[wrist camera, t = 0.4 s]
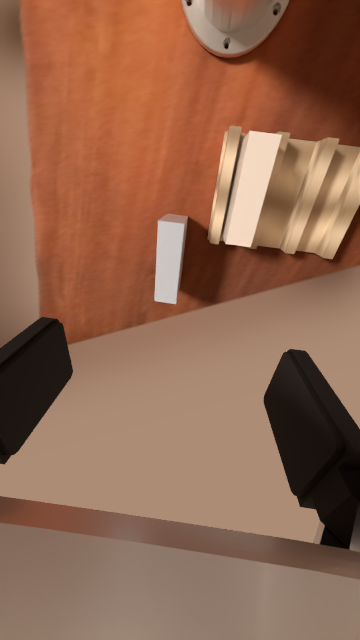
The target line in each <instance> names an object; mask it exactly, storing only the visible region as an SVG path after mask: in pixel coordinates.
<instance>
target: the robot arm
mask: <svg viewBox="0 0 360 640" xmlns="http://www.w3.org/2000/svg"><path fill="white" fill-rule="evenodd" d="M289 1H290V0H181V3H182V8H183V11H184V14H185V18H186V21H187V23H188V25H189V27H190V29H191V31H192V33H193V35H194V36H195V38H196V39H197V41H198V42H199V43H200V44H201V45H202V46H203V47H204V48H205V49H206V50H207V51H208V52H210V53H212V54H214V55H216V56H220V57H225V58H232V57H239V56H241V55H244V54H247V53H249V52H250V51H252V50H253V49H255V48H256V47H258V46H259V45H260V44H261V43H262V42H263V41H264V40H265V39H266V38H267V37H268V36H269V35H270V33H271V32H272V31H273V29H274V28H275V27H276V25H277V24H278V22H279V20H280V19H281V17H282V15H283V13H284V12H285V10H286V7H287V5H288V3H289ZM189 2H191V3H192V5H191V6H188V3H189ZM273 12H276V13H277V15H276V16H275V15H273ZM225 45H228V47H229V48H228V49H225V48H224V46H225ZM72 373H73V369H72V365H71V359H70V355H69V350H68V346H67V341H66V337H65V332H64V328H63V324H62V323H60V322H59V320H57V319H53V318H45V317H42V318H40V319H38V320H37V321H36V322H34V323H33V324H32V325H30V326H29V327H28V328H26V329H25V330H24V331H23V332H21V333H20V334H18V335H17V336H16V337H15V338H13V339H12V340H11V341H9V342H8V343H7V344H5V345H4V346H3V347H1V348H0V464H5V463H6V462H7V460H8V459H9V458H10V456H11V455H14V454H16V452H18V451H19V449H20V448H21V446H22V445H23V444H24V442H25V441H26V439H27V438H28V437H29V435H30V434H31V432H32V431H33V429H34V428H35V427H36V426H37V424H38V423H39V421H40V420H41V419H42V417H43V416H44V414H45V413H46V412H47V410H48V409H49V407H50V406H51V405H52V403H53V402H54V400H55V399H56V398H57V396H58V395H59V393H60V392H61V391H62V389H63V388H64V386H65V385H66V383H67V382H68V381H69V379H70V378H71V376H72ZM264 405H265V408H266V411H267V414H268V418H269V421H270V424H271V428H272V431H273V434H274V437H275V440H276V444H277V447H278V450H279V453H280V456H281V460H282V463H283V466H284V470H285V473H286V476H287V479H288V483H289V486H290V489H291V491H292V493H293V494H294V495H295V496H297V499H298V502H299V505H300V507H304V508H311V509H316V510H317V513H318V516H319V518H320V522H319V526H318V529H317V532H316V536H315V539H314V543H308V542H302V541H297V540H291V539H285V538H279V537H272V536H266V535H258V534H253V533H246V532H239V531H233V530H227V529H220V528H213V527H207V526H200V525H194V524H187V523H181V522H174V521H167V520H160V519H154V518H146V517H140V516H133V515H126V514H120V513H113V512H106V511H99V510H93V509H86V508H79V507H72V506H65V505H58V504H51V503H44V502H37V501H30V500H23V499H16V498H8V497H2V496H0V640H360V429H359V427H358V426H357V424H356V423H355V422H354V420H353V419H352V417H351V416H350V414H349V413H348V411H347V410H346V409H345V407H344V406H343V404H342V403H341V401H340V400H339V398H338V397H337V395H336V394H335V392H334V391H333V389H332V388H331V387H330V385H329V384H328V382H327V381H326V379H325V378H324V376H323V375H322V373H321V372H320V371H319V369H318V368H317V366H316V365H315V364H314V362H313V360H312V359H311V357H310V356H309V354H308V353H307V352H306V351H301V350H294V349H289V350H288V351H287V352H284V353H283V355H282V357H281V359H280V362H279V364H278V366H277V368H276V370H275V373H274V375H273V377H272V379H271V382H270V384H269V386H268V388H267V391H266V393H265V395H264Z"/></svg>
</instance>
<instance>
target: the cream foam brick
mask: <svg viewBox="0 0 360 640" xmlns="http://www.w3.org/2000/svg"><path fill="white" fill-rule="evenodd" d="M281 137H282V135H280V134H272V133H263V132H255V131H250V132H249V133H248V134H247V135H246V136H245V137H244V139H243V140H242V141H241V142H240V146H239V151H238V156H237V161H236V166H235V171H234V176H233V181H232V186H231V191H230V196H229V201H228V206H227V211H226V216H225V221H224V226H223V231H222V236H223V239H224V241H225V243H226V244H230V245H238V246H245V247H251V244H252V241H253V237H254V234H255V230H256V226H257V223H258V219H259V216H260V212H261V208H262V205H263V201H264V198H265V194H266V191H267V187H268V183H269V180H270V176H271V173H272V169H273V165H274V162H275V158H276V155H277V151H278V147H279V144H280V140H281Z"/></svg>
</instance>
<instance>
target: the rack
mask: <svg viewBox="0 0 360 640" xmlns="http://www.w3.org/2000/svg"><path fill="white" fill-rule="evenodd" d="M241 128H242V127H237V126H230V127H229V130H228V131H225V135H224V141H223V147H222V153H221V159H220V165H219V171H218V177H217V183H216V189H215V195H214V201H213V207H212V213H211V219H210V225H209V231H208V237H207V239H209V242H210V243H212V244H219V241H224V239H223V236H222V231H223V226H224V221H225V216H226V211H227V206H228V201H229V196H230V191H231V186H232V181H233V176H234V171H235V166H236V161H237V156H238V151H239V146H240V142H241V141H242V140H243V139H244V137H245V136H246V135H247V133H241ZM276 134H280V135H282V137H281V140H280V144H279V147H278V151H277V155H276V158H275V162H274V165H273V169H272V173H271V176H270V180H269V183H268V187H267V191H266V194H265V198H264V201H263V205H262V208H261V212H260V216H259V219H258V223H257V226H256V230H255V234H254V237H253V241H252V244H251V247H247V248H250V249H256V248H257V246H265V247H272V248H280V249H281V250H282V251H283V252H285V253H289V254H295V251H303V252H311V253H316V254H317V255H319V256H321V257H323V258H327V259H333V257H334V255H335V253H336V251H337V249H338V247H339V245H340V243H341V241H342V239H343V237H344V235H345V233H346V231H347V229H348V227H349V225H350V223H351V221H352V219H353V217H354V215H355V213H356V211H357V209H358V207H359V205H360V147H354V146H346V145H338V142H339V139H337V138H329V137H328V138H325V139H323V140H320V141H318V142H313V141H305V140H296V139H289V136H290V133H287V132H278V133H276Z"/></svg>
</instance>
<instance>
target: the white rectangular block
mask: <svg viewBox="0 0 360 640" xmlns="http://www.w3.org/2000/svg"><path fill="white" fill-rule="evenodd" d="M187 222H188V216H182V215H175V214H166V215H165V216H164V217H162V218H161V219H160V220H158V236H157V258H156V279H155V301H158V302H165V303H172V304H176V301H177V297H178V292H179V288H180V283H181V275H182V266H183V257H184V248H185V240H186V231H187Z"/></svg>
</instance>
